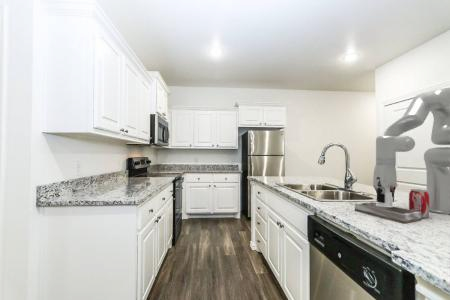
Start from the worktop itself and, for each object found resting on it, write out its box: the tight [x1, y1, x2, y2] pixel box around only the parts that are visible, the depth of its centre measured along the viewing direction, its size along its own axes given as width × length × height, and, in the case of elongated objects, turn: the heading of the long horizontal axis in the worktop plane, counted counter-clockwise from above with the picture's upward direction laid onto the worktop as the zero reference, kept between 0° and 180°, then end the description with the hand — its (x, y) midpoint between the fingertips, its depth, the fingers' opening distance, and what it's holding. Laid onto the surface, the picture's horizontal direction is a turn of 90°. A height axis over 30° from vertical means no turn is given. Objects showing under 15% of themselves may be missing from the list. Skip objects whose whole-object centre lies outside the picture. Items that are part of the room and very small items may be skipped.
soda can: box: [408, 188, 430, 219], centre depth 104 cm, size 7×7×12 cm
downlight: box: [375, 186, 395, 208], centre depth 106 cm, size 8×7×10 cm
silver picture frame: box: [354, 201, 423, 224], centre depth 105 cm, size 12×22×4 cm, turn 23°
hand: (385, 201), depth 106 cm, fingers closed on downlight, 5 cm apart
